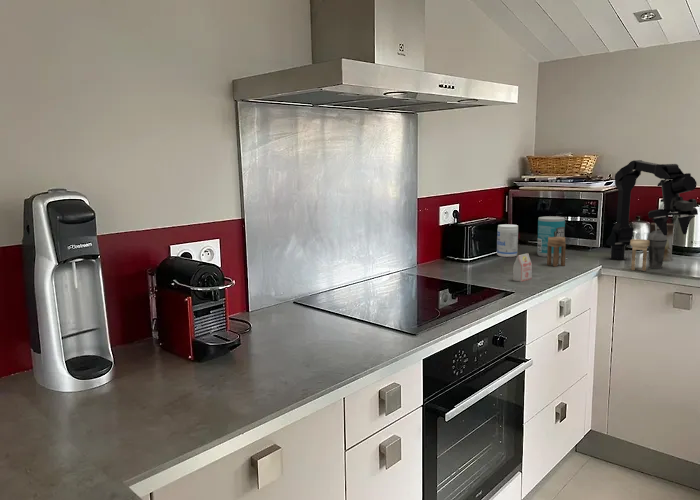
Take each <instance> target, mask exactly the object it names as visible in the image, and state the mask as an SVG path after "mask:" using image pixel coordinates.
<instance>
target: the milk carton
mask: <svg viewBox="0 0 700 500" xmlns="http://www.w3.org/2000/svg"><path fill="white" fill-rule="evenodd" d="M512 267H513V268H512V269H513V270H512V271H513V272H512V281H515V282H522V283H523V282H524V281H529V280H532V279H533V277H532V276H533V275H532V273H533V272H532V270H533V268H532V267H533V264H532V260H531V258H530V255H529V252H527V253H523V254H519V255H518V254H517V256H516V258H515V261H514V263H513V265H512Z"/></svg>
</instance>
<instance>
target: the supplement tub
mask: <svg viewBox="0 0 700 500" xmlns="http://www.w3.org/2000/svg"><path fill="white" fill-rule="evenodd" d="M496 234H497V236H496V255H498V256H499V257H503V258H512V257H513V258H514V257H517V255H518V247H519V246H518V244H519V225H517V224H511V223H510V224H509V223H508V224H507V223H505V224H498V225H497V233H496Z"/></svg>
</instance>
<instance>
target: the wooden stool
mask: <svg viewBox="0 0 700 500" xmlns="http://www.w3.org/2000/svg"><path fill="white" fill-rule="evenodd" d="M566 245H567V244H566V237H565V236H564V237H548V248H547V257H546V265H547V266H552V267H555V268H556V267H558V265H559V262H560V266H561V267H565V266H566V247H567V246H566ZM552 247H554V253H553V257H551V251H552ZM559 247H561V257H559ZM552 258H553V259H552ZM552 260H553V263H552Z"/></svg>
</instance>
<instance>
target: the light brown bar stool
mask: <svg viewBox="0 0 700 500" xmlns="http://www.w3.org/2000/svg"><path fill="white" fill-rule="evenodd" d="M649 245H650V241H649V240H647V239H644V238H641V239H640V238H639V239H638V238H632V240H630V245H629V246H631V247H632V250H631V251H632V252H631V266H630V267H631V269H630V270H631V271H635V269H636V255H637V251H642V261H641V262H642V263H641V265H642V266H641V270H642V271H644V272H646V270H647V259H648V255H647V254H648V247H649Z"/></svg>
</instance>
